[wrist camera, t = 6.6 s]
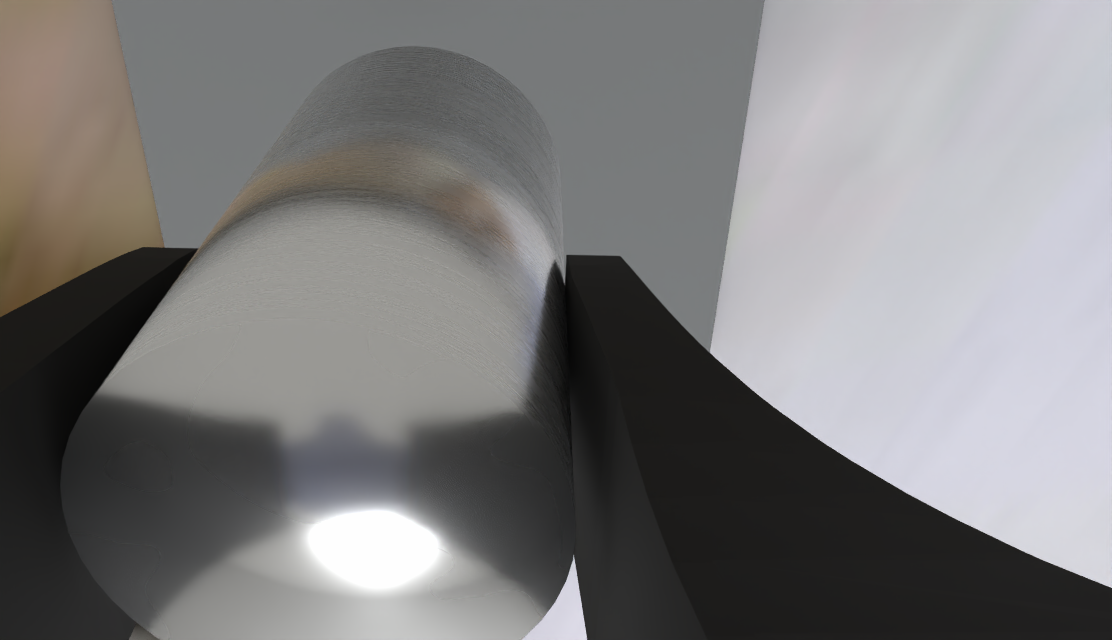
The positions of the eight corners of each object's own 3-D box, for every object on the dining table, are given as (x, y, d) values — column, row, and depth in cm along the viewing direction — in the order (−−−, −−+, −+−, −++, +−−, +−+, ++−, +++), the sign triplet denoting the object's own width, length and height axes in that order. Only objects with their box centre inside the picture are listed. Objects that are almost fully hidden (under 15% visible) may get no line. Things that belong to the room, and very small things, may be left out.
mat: (796, -254, 15) (804, -255, 15) (705, 343, 21) (709, 355, 21) (62, -288, 14) (48, -290, 14) (193, 336, 21) (186, 348, 20)
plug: (580, 69, 12) (619, 358, 6) (540, 316, 14) (538, 710, 8) (283, 25, 12) (19, 286, 6) (286, 285, 14) (92, 673, 8)
